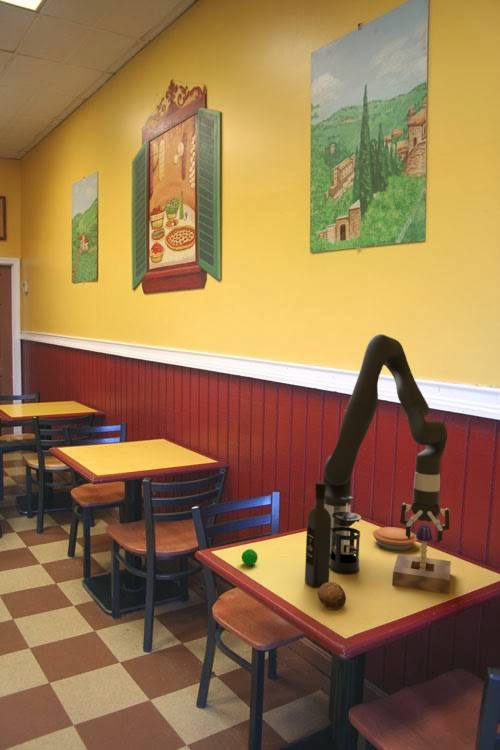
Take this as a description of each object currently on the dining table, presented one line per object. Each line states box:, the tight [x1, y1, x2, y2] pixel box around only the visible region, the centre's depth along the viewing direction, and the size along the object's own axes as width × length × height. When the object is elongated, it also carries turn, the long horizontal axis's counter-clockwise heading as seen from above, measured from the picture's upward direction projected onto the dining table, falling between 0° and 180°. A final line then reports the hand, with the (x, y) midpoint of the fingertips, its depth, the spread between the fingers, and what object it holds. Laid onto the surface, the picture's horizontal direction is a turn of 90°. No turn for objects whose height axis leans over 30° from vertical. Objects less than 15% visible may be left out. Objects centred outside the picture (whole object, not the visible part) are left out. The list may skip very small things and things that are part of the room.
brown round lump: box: [317, 581, 347, 611], centre depth 166 cm, size 8×8×6 cm
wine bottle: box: [304, 481, 331, 588], centre depth 179 cm, size 6×6×30 cm
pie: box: [372, 526, 418, 551], centre depth 216 cm, size 15×16×5 cm
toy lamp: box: [415, 523, 433, 571], centre depth 185 cm, size 5×5×17 cm
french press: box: [329, 495, 362, 575], centre depth 192 cm, size 12×9×23 cm
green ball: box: [241, 548, 259, 566], centre depth 193 cm, size 5×5×5 cm
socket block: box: [391, 553, 452, 595], centre depth 186 cm, size 16×16×4 cm
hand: (423, 540), depth 185 cm, fingers open, 8 cm apart
